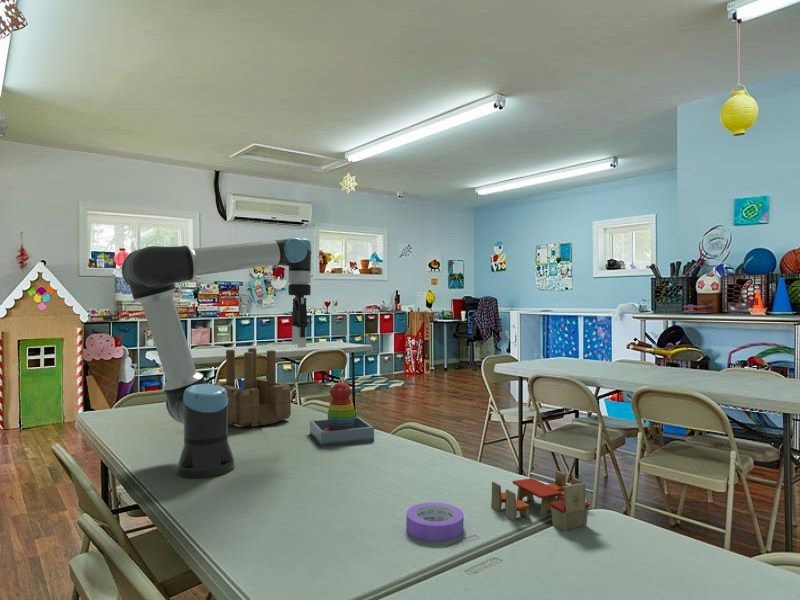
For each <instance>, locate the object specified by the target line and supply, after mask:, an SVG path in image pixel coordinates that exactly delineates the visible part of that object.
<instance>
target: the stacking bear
mask: <svg viewBox="0 0 800 600" xmlns="http://www.w3.org/2000/svg"><path fill="white" fill-rule="evenodd" d="M351 392H352V389H351V387H350V385H349V383H348V382H347V381H345V382H336V383H335V384H333V386H332V387H331V388H330V389H329V394H330V397H332V399H331V400H330V402H329V406H328V410H327V419H328V422H329V427H330V428H327V429H324V430H323V432H324V431H334V430H345V429H354V428H353V425H354V421H355V417H356V411H355V406H354V403H353V402H352V400H351V399H350V397H351Z"/></svg>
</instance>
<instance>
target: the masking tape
mask: <svg viewBox="0 0 800 600" xmlns="http://www.w3.org/2000/svg"><path fill="white" fill-rule="evenodd" d="M405 516H406V526H405V529H406V532H407V534H409V535H410V536H412V537H414V538H415V539H419V540H423V541H431V542H439V541H440V542H442V541H448V540H452V539H455V538H458V537H459V536H461V535H462V534H463V532H464V518H465V517H464V512H463V511H462V509H460V508H459V507H457V506H456V505H452V504H450V503H449V504H448V503H445V502H444V503H443V502H437V501H436V502H423V503H418V504H415V505H412V506H411V507H409V508H408V509H407V510H406V515H405Z"/></svg>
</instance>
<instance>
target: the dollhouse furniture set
mask: <svg viewBox="0 0 800 600" xmlns="http://www.w3.org/2000/svg"><path fill="white" fill-rule="evenodd" d="M566 474H567V473H564V472H562V471H559V470H556V471H555V480H554V483H546V484H545V483H543V482H541V481H539V480H537V479H535V478H531V477H530V478H524V479H523V478H522V479H517V480H513V481H512V484H513V485H515V486H517V487H518V488H517V496H516V493H515V492H513V491H511V490H509V489H507V488H506V489H505V491H504V492H503V491H502V487H501V485H500V484H499V483H497V482H494V481H491V500H490V508H491V509H493V510H494V511H496V512H498V513H500V512H501V511H502V506H503V503H504V505H505V511H504V513H505V515H504V517H506V518H508V519H510V520H511V521H513V522H514V521H516V519H517V515H518V513H519V514H520V515H521V516H523V517H525V518H527V519H528V518H531V517H530V515H531V514H530V509H529V507H530V505H529V504H528V503H525V501H523V500H524V498H526V500H528V501H532V500H535V499H534V498H535V497H537V498H539V499H541V502H540V503H541V504H540V511H539V515H541V516H546V515H547V513H548V512H549V511H550V512H551V521H552V526H554V527H556V528H557V529H560V530H561V531H562V532H567V531H568V530H570V529H571V530H572V529H576V528H580V527H583V528H584V527H587V525H588V517H589V516H588V515H589V508H590V507H591V504H590V503H589V502H586V488H587V487H586V483H584V482H582V480H581V479H578V478H576V477H572V478H571V484H566V479H567V477H566ZM534 496H535V497H534ZM557 497H559V498H558V499H559V500H557Z"/></svg>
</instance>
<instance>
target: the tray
mask: <svg viewBox="0 0 800 600" xmlns="http://www.w3.org/2000/svg"><path fill="white" fill-rule="evenodd" d="M327 428H330V427H329V422H328V418H327V419H316V420H309V434H310V435H311V436H312V437H313V439H314V440H315V441H316V443H317V444H318V445H319V446H320V447H328V446H337V445H338V446H339V445H348V444H356V443H365V442H375V427H374V425H373V426H372V424H371V423H368V422H367V421H366V420H364V419H363V418H361V417H360V416H355V421H354V425H353V428H354V429H345V430H334V431H324V432H323V430H324V429H327Z"/></svg>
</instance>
